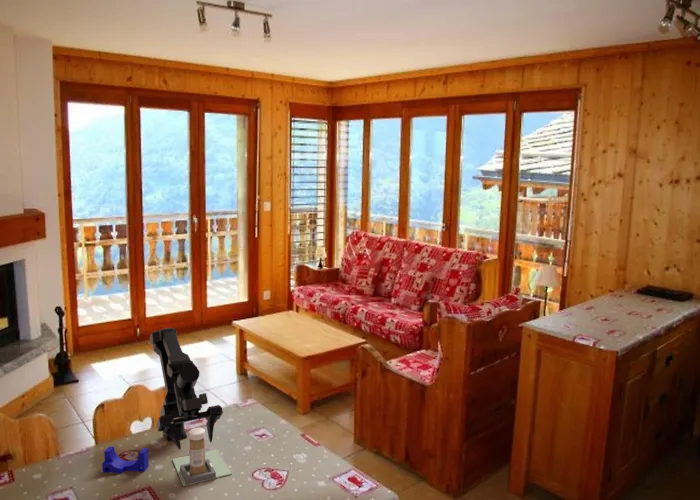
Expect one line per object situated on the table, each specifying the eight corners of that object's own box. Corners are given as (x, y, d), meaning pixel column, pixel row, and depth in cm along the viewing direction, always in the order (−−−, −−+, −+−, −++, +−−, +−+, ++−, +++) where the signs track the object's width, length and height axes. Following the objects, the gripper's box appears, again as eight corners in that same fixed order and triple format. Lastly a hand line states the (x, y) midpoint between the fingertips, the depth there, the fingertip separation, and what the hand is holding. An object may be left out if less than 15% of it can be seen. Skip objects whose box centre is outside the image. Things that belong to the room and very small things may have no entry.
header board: (172, 460, 173) (172, 453, 172) (217, 450, 179) (217, 443, 179) (183, 486, 158) (183, 479, 158) (231, 475, 165) (231, 467, 165)
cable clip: (102, 472, 165) (101, 453, 164) (109, 464, 169) (109, 446, 169) (142, 474, 164) (141, 455, 163) (148, 466, 169) (148, 448, 168)
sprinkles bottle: (207, 469, 167) (206, 427, 165) (202, 478, 162) (202, 434, 160) (192, 469, 167) (191, 426, 165) (187, 477, 162) (186, 434, 160)
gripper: (158, 390, 162) (167, 443, 154) (221, 380, 171) (232, 428, 164) (153, 405, 170) (161, 456, 162) (213, 394, 179) (224, 442, 172)
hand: (195, 445), depth 165 cm, fingers open, 9 cm apart
